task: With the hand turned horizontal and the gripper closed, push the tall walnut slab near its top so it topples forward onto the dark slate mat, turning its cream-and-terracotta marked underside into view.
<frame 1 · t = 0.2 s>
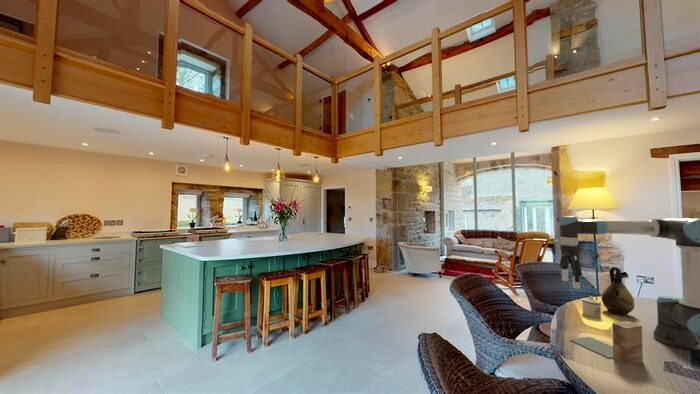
hand: (570, 284, 142), 28 cm above the table, tool pointing down, fingers open, 13 cm apart
walnut slab: (627, 360, 120), on the table
slate mat: (598, 347, 131), on the table
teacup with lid: (592, 314, 172), on the table
ceramic jug: (616, 313, 176), on the table
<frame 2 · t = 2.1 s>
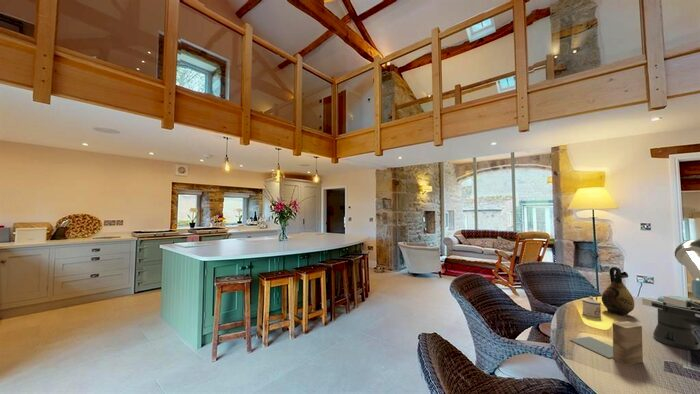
hand: (653, 299, 112), 30 cm above the table, tool horizontal, fingers open, 12 cm apart
nothing on the table moved.
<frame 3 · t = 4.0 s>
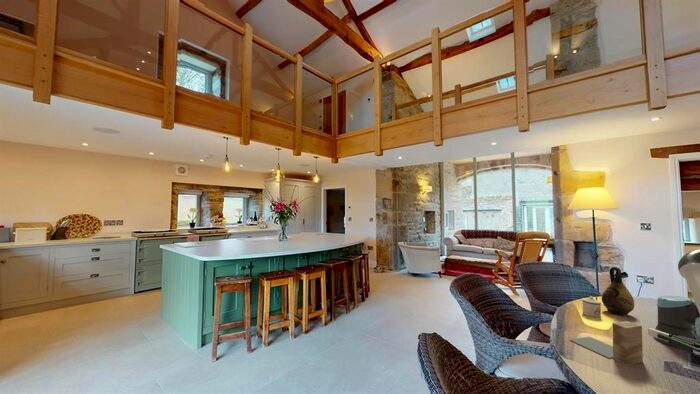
hand: (649, 331, 113), 16 cm above the table, tool horizontal, fingers closed
nothing on the table moved.
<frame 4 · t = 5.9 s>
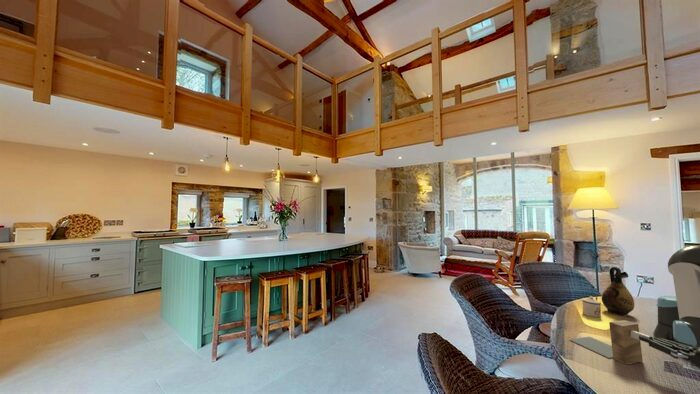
hand: (631, 333, 118), 13 cm above the table, tool horizontal, fingers closed
walnut slab: (627, 360, 120), on the table, touching gripper
everything else where it was.
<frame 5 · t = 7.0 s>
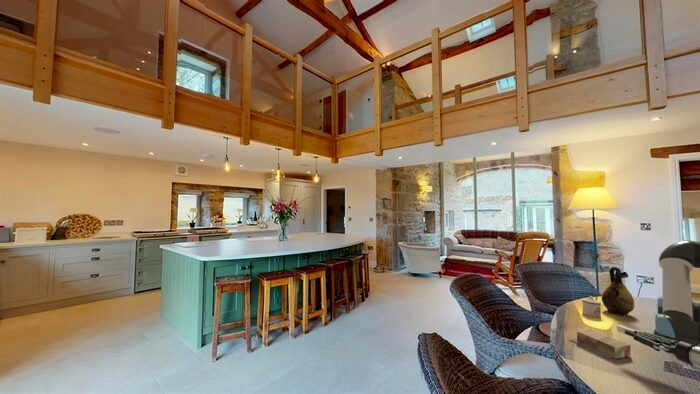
hand: (618, 328, 123), 13 cm above the table, tool horizontal, fingers closed
walnut slab: (622, 351, 121), point 3 cm above the table, tilted 90°, touching slate mat
everything else where it was.
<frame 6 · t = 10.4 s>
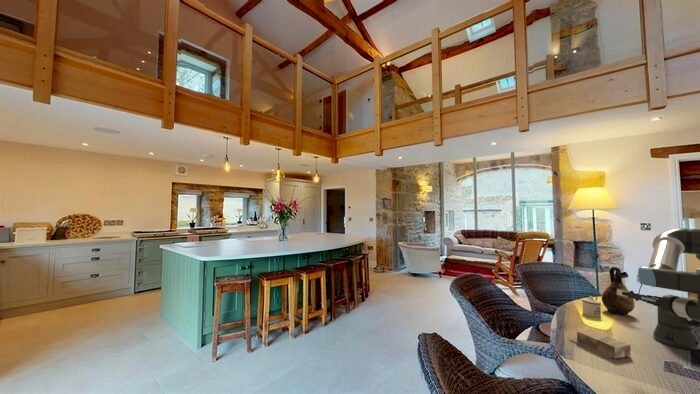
hand: (618, 292, 127), 29 cm above the table, tool horizontal, fingers closed
nothing on the table moved.
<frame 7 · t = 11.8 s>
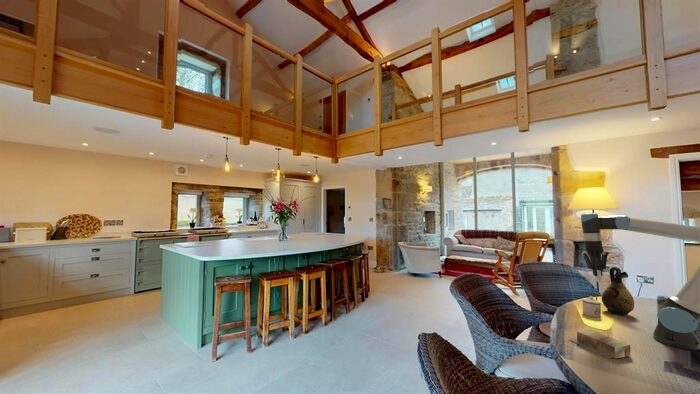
hand: (599, 281, 151), 27 cm above the table, tool pointing down, fingers closed
nothing on the table moved.
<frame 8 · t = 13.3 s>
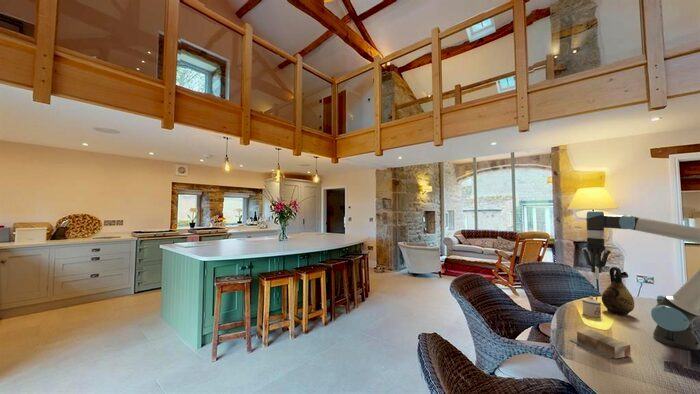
hand: (596, 278, 153), 28 cm above the table, tool pointing down, fingers closed
nothing on the table moved.
at the end: walnut slab tilted 90°; walnut slab touching slate mat; the gripper is holding nothing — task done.
